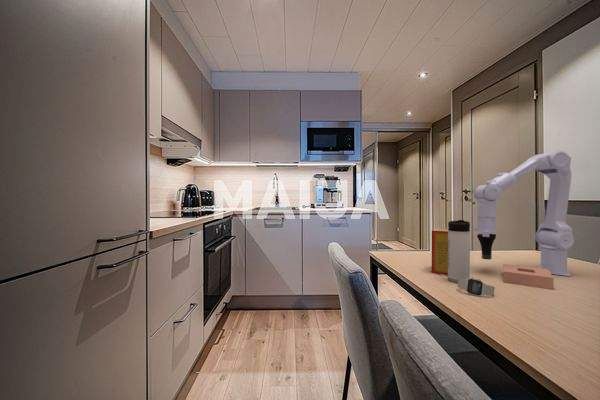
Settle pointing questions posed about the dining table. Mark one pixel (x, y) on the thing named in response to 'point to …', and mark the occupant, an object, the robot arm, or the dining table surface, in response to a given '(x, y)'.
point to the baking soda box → (440, 251)
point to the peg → (487, 256)
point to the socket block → (527, 276)
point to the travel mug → (458, 250)
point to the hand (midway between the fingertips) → (486, 254)
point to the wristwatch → (475, 287)
